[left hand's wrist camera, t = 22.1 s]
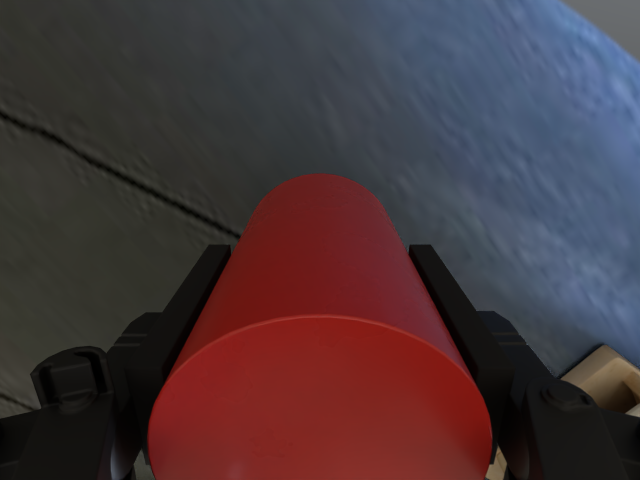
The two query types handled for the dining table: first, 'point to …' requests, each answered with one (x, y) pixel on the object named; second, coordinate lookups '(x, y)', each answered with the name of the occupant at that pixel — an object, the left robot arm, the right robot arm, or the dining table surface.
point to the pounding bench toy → (597, 390)
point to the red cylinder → (319, 357)
